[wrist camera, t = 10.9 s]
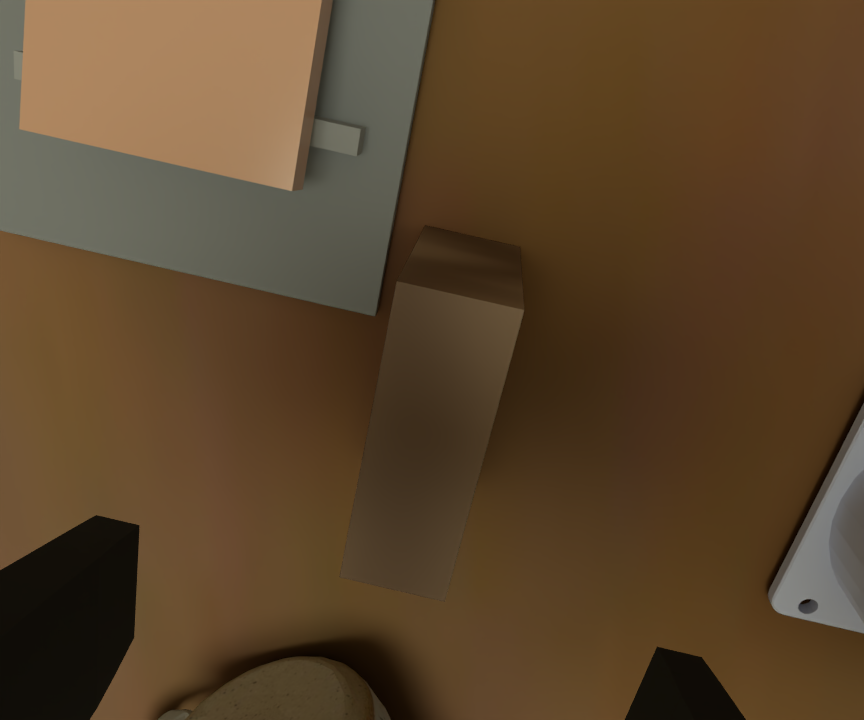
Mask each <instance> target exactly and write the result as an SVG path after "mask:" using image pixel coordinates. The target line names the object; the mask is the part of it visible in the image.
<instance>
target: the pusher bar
mask: <svg viewBox="0 0 864 720" xmlns="http://www.w3.org/2000/svg"><path fill="white" fill-rule="evenodd" d="M523 313H524V297H523V282H522V267H521V253H520V247H518V246H514V245H510V244H505V243H501V242H496V241H492V240H488V239H483V238H479V237H474V236H470V235H466V234H461V233H457V232H452V231H448V230H444V229H439V228H435V227H431V226H426V225H425V227H424V229H423V231H422V233H421V235H420V237H419V239H418V241H417V243H416V245H415V246H414V248H413V250H412V252H411V254H410V256H409V258H408V260H407V262H406V264H405V266H404V268H403V270H402V272H401V274H400V276H399V277H398V279H397V282H396V287H395V292H394V297H393V303H392V308H391V313H390V318H389V323H388V328H387V334H386V339H385V344H384V349H383V354H382V360H381V365H380V370H379V375H378V380H377V385H376V391H375V396H374V401H373V406H372V411H371V417H370V422H369V427H368V432H367V437H366V442H365V448H364V453H363V458H362V463H361V468H360V474H359V479H358V484H357V489H356V494H355V499H354V505H353V510H352V515H351V520H350V525H349V531H348V536H347V541H346V546H345V551H344V556H343V562H342V567H341V572H340V577H341V578H345V579H349V580H354V581H358V582H362V583H367V584H371V585H375V586H379V587H384V588H388V589H392V590H397V591H401V592H405V593H409V594H414V595H418V596H422V597H427V598H431V599H435V600H439V601H444V602H445V599H446V595H447V592H448V588H449V584H450V581H451V577H452V573H453V570H454V566H455V562H456V559H457V555H458V551H459V548H460V544H461V540H462V537H463V533H464V529H465V526H466V522H467V518H468V515H469V511H470V507H471V504H472V500H473V496H474V493H475V489H476V485H477V482H478V478H479V474H480V471H481V467H482V463H483V460H484V456H485V453H486V449H487V445H488V442H489V438H490V434H491V431H492V427H493V423H494V420H495V416H496V412H497V409H498V405H499V401H500V398H501V394H502V390H503V387H504V383H505V379H506V376H507V372H508V368H509V365H510V361H511V357H512V354H513V350H514V346H515V343H516V339H517V335H518V332H519V328H520V324H521V321H522V317H523Z"/></svg>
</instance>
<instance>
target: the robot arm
mask: <svg viewBox="0 0 864 720" xmlns="http://www.w3.org/2000/svg"><path fill="white" fill-rule="evenodd" d="M138 544H139V525H136V524H131V523H127V522H123V521H119V520H114V519H110V518H106V517H102V516H97V515H96V516H94V517H92V518H90V519H89V520H87V521H85V522H83V523H81V524H80V525H78V526H76V527H74V528H73V529H71V530H69V531H67V532H66V533H64V534H62V535H61V536H59V537H57V538H55V539H54V540H52V541H50V542H48V543H47V544H45V545H43V546H41V547H40V548H38V549H36V550H35V551H33V552H31V553H29V554H28V555H26V556H24V557H23V558H21V559H19V560H17V561H16V562H14V563H12V564H10V565H9V566H7V567H5V568H4V569H2V570H0V720H90V718H91V717H92V715H93V713H94V712H95V710H96V709H97V707H98V705H99V703H100V701H101V700H102V698H103V696H104V694H105V692H106V690H107V689H108V687H109V685H110V683H111V681H112V679H113V677H114V676H115V674H116V672H117V670H118V668H119V666H120V664H121V662H122V660H123V658H124V656H125V654H126V652H127V650H128V648H129V646H130V644H131V642H132V640H133V639H134V627H135V606H136V585H137V564H138ZM768 598H769V601H770V603H771V605H772V607H773V609H774V610H775V611H776V612H778V613H780V614H783V615H787V616H791V617H795V618H800V619H804V620H808V621H812V622H817V623H821V624H825V625H830V626H834V627H838V628H842V629H847V630H851V631H855V632H860V633H864V403H863V405H862V407H861V409H860V411H859V413H858V415H857V417H856V419H855V421H854V423H853V425H852V427H851V429H850V431H849V433H848V435H847V437H846V439H845V441H844V443H843V445H842V447H841V449H840V451H839V453H838V455H837V457H836V459H835V461H834V463H833V465H832V467H831V469H830V471H829V473H828V475H827V477H826V479H825V481H824V482H823V484H822V486H821V488H820V490H819V492H818V494H817V496H816V498H815V500H814V502H813V504H812V506H811V508H810V510H809V512H808V514H807V516H806V518H805V520H804V522H803V524H802V526H801V528H800V530H799V532H798V534H797V536H796V538H795V540H794V542H793V544H792V546H791V548H790V550H789V552H788V554H787V556H786V558H785V560H784V561H783V563H782V565H781V567H780V569H779V571H778V573H777V575H776V577H775V579H774V581H773V583H772V585H771V587H770V589H769V592H768ZM806 599H811V600H810V602H808V603H805V604H800V603H801V601H803V600H806ZM625 720H746V719H745V718H744V716H743V715H742V713H741V712H740V711H739V709H738V708H737V706H736V705H735V703H734V702H733V701H732V699H731V698H730V696H729V695H728V693H727V692H726V690H725V689H724V688H723V686H722V685H721V683H720V682H719V681H718V679H717V678H716V676H715V675H714V674H713V672H712V671H711V669H710V668H709V667H708V665H707V664H706V663H705V661H704V660H703V659H702V657H698V656H694V655H690V654H685V653H681V652H677V651H673V650H668V649H664V648H660V647H657V648H656V651H655V653H654V655H653V657H652V660H651V662H650V664H649V666H648V669H647V671H646V673H645V675H644V678H643V680H642V682H641V684H640V687H639V689H638V691H637V693H636V696H635V698H634V700H633V702H632V705H631V707H630V709H629V712H628V714H627V716H626V718H625Z"/></svg>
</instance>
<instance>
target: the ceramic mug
mask: <svg viewBox="0 0 864 720" xmlns="http://www.w3.org/2000/svg"><path fill="white" fill-rule="evenodd" d="M158 720H391V719H390V717H389V715H388V713H387V711H386V709H385V707H384V706H383V704H382V703H381V702H380V701H379V699H378V698H377V696H376V695H375V694H374V692H373V691H372V689H371V688H370V686H369V685H368V684H367V682H366V681H365V680H364V679H363V678H362V677H360V676H359V675H358V674H357V673H356V672H355V671H354V670H353V669H351V668H350V667H348V666H347V665H346V664H344V663H341V662H338V661H334V660H331V659H327V658H324V657H306V656H297V657H291V658H284V659H280V660H277V661H274V662H271V663H267V664H264V665H261V666H258V667H256V668H253V669H251V670H249V671H247V672H245V673H243V674H241V675H240V676H238V677H236V678H235V679H233V680H231V681H229V682H228V683H226V684H224V685H223V686H222V687H220V688H219V689H218V690H217V691H215V692H214V693H213V694H211V695H210V696H209V697H207V698H206V699H205V700H203V701H202V702H201V703H200V704H199V705H198V706H197V707H196V709H195V710H194V711H191V710H187V709H183V710H170V711H168V712H166V713H165V714H163V715H162V716H161V717H160V718H159V719H158Z"/></svg>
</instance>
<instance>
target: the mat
mask: <svg viewBox="0 0 864 720" xmlns="http://www.w3.org/2000/svg"><path fill="white" fill-rule="evenodd" d="M434 4H435V0H333V3H332V9H331V15H330V22H329V28H328V34H327V40H326V46H325V53H324V59H323V65H322V71H321V78H320V84H319V90H318V96H317V103H316V109H315V115H314V121H313V128H312V134H311V140H310V146H309V152H308V159H307V165H306V171H305V177H304V184H303V190H297V191H289V190H285V189H280V188H276V187H271V186H267V185H263V184H258V183H254V182H249V181H245V180H241V179H236V178H232V177H227V176H223V175H219V174H214V173H210V172H205V171H201V170H197V169H192V168H188V167H183V166H179V165H175V164H170V163H166V162H161V161H157V160H153V159H148V158H144V157H139V156H135V155H131V154H126V153H122V152H117V151H113V150H109V149H104V148H100V147H95V146H91V145H87V144H82V143H78V142H73V141H69V140H65V139H60V138H56V137H51V136H47V135H43V134H38V133H34V132H29V131H25V130H21V129H19V123H20V103H21V82H22V61H23V41H24V20H25V0H0V230H1V231H5V232H9V233H14V234H18V235H22V236H27V237H31V238H36V239H40V240H44V241H49V242H53V243H57V244H62V245H66V246H70V247H75V248H79V249H83V250H88V251H92V252H96V253H101V254H105V255H110V256H114V257H118V258H123V259H127V260H131V261H136V262H140V263H144V264H149V265H153V266H157V267H162V268H166V269H170V270H175V271H179V272H183V273H188V274H192V275H197V276H201V277H205V278H210V279H214V280H218V281H223V282H227V283H231V284H236V285H240V286H244V287H249V288H253V289H257V290H262V291H266V292H270V293H275V294H279V295H284V296H288V297H292V298H297V299H301V300H305V301H310V302H314V303H318V304H323V305H327V306H331V307H336V308H340V309H344V310H349V311H353V312H358V313H362V314H366V315H371V316H375V315H376V314H377V312H378V307H379V301H380V296H381V291H382V285H383V280H384V274H385V269H386V264H387V258H388V253H389V247H390V242H391V237H392V231H393V226H394V220H395V215H396V210H397V204H398V199H399V193H400V188H401V183H402V177H403V172H404V166H405V161H406V156H407V150H408V145H409V139H410V134H411V129H412V123H413V118H414V112H415V107H416V102H417V96H418V91H419V85H420V80H421V75H422V69H423V64H424V58H425V53H426V48H427V42H428V37H429V31H430V26H431V21H432V15H433V10H434Z"/></svg>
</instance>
